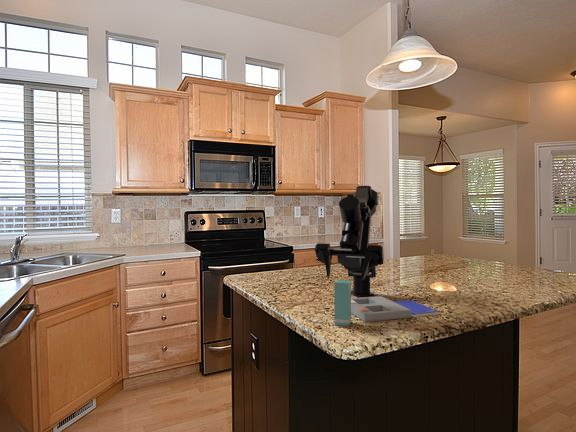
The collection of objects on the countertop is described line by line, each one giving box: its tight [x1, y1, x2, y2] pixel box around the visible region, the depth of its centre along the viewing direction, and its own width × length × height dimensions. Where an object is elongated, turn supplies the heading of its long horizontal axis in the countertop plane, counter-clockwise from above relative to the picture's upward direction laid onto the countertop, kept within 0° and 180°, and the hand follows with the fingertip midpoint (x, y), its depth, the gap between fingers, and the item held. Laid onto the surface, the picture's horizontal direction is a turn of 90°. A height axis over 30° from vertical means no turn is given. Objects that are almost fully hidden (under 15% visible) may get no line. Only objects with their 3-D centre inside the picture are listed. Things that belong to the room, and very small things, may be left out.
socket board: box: [351, 295, 412, 323], centre depth 105 cm, size 16×14×2 cm
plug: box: [333, 279, 352, 327], centre depth 94 cm, size 4×4×11 cm
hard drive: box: [394, 299, 440, 318], centre depth 107 cm, size 2×8×12 cm
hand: (344, 278), depth 97 cm, fingers open, 9 cm apart
